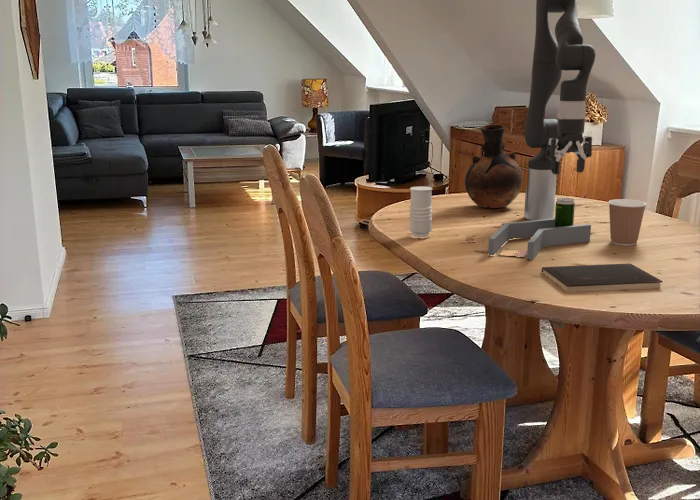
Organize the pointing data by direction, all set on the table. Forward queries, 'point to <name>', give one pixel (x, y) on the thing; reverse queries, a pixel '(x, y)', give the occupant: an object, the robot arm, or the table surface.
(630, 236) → the coffee cup
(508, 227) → the bent channel
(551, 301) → the table surface
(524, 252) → the pad
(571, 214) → the beer can
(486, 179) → the ceramic vessel
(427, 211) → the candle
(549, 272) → the hardcover book
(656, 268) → the table surface
